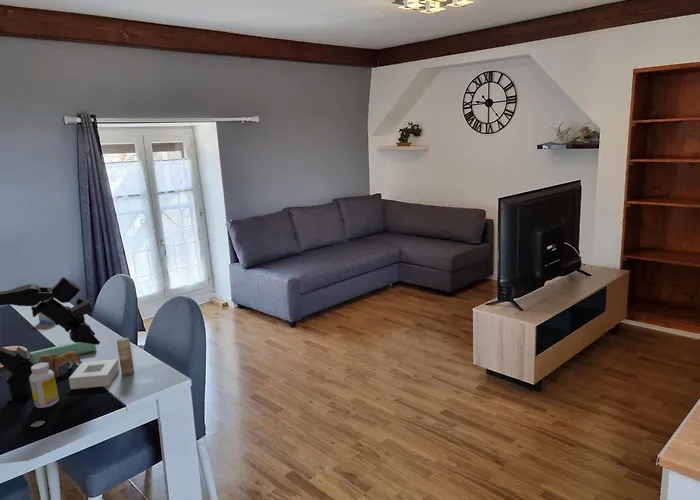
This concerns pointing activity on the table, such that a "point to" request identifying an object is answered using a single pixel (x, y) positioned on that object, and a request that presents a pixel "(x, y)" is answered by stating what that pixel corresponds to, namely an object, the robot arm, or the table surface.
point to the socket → (94, 374)
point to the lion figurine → (60, 360)
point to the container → (64, 350)
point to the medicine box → (44, 319)
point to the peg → (125, 356)
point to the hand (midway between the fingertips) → (96, 339)
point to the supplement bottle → (43, 385)
